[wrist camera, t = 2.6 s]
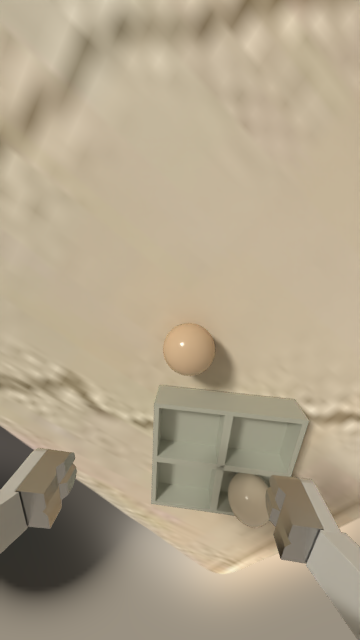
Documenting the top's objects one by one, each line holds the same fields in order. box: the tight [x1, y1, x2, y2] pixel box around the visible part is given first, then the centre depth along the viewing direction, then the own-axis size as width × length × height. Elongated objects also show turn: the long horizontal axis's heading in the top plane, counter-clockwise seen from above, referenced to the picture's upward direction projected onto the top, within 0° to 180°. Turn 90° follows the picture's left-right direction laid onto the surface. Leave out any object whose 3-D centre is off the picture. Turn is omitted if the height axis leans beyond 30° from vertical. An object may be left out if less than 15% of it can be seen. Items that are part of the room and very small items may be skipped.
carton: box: [151, 385, 309, 521], centre depth 24 cm, size 15×15×3 cm
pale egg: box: [228, 472, 269, 528], centre depth 23 cm, size 5×5×5 cm
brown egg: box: [163, 323, 215, 376], centre depth 19 cm, size 5×5×5 cm
